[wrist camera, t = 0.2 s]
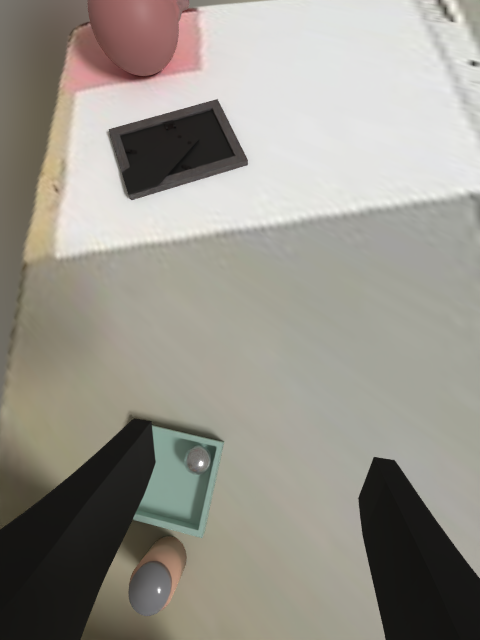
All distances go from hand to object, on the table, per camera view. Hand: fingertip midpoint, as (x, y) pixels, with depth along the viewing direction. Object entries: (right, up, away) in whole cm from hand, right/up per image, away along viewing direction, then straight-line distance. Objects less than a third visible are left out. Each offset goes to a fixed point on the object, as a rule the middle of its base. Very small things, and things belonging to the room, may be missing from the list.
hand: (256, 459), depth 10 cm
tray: (-9, -14, +28) cm, 32 cm away
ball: (-6, -13, +28) cm, 31 cm away
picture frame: (-12, +35, +46) cm, 59 cm away
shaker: (-9, -23, +25) cm, 35 cm away
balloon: (-17, +57, +53) cm, 79 cm away
